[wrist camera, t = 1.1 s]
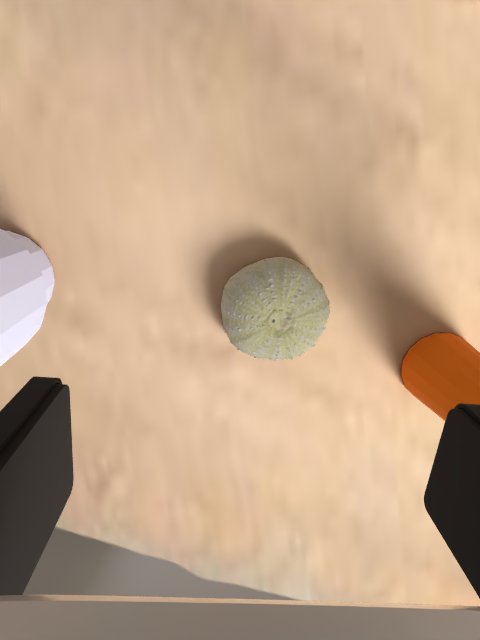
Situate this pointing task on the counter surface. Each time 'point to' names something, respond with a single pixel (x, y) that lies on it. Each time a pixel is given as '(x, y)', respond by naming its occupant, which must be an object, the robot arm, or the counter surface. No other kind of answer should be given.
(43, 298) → the soap bottle
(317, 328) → the sea urchin shell
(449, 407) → the spray bottle
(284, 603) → the robot arm
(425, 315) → the counter surface
